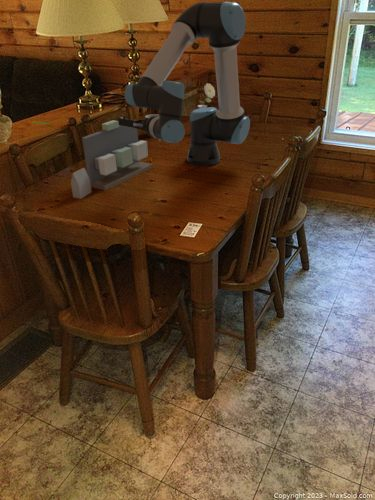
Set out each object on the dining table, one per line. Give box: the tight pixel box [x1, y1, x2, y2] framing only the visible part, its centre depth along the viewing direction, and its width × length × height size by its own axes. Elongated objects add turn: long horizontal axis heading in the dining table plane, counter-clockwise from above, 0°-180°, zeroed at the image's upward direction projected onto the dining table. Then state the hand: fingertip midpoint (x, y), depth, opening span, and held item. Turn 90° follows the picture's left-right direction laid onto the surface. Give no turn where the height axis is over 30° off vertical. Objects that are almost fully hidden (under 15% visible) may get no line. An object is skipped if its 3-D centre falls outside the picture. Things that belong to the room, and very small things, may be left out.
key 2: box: [127, 140, 149, 161], centre depth 186 cm, size 8×6×6 cm
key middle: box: [111, 147, 133, 168], centre depth 180 cm, size 8×6×6 cm
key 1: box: [93, 154, 117, 175], centre depth 173 cm, size 8×6×6 cm
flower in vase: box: [197, 83, 216, 109], centre depth 232 cm, size 13×11×25 cm
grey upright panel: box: [81, 119, 153, 191], centre depth 180 cm, size 16×30×22 cm, turn 145°
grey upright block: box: [70, 167, 92, 200], centre depth 166 cm, size 4×7×10 cm, turn 153°
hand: (136, 122), depth 172 cm, fingers open, 13 cm apart
